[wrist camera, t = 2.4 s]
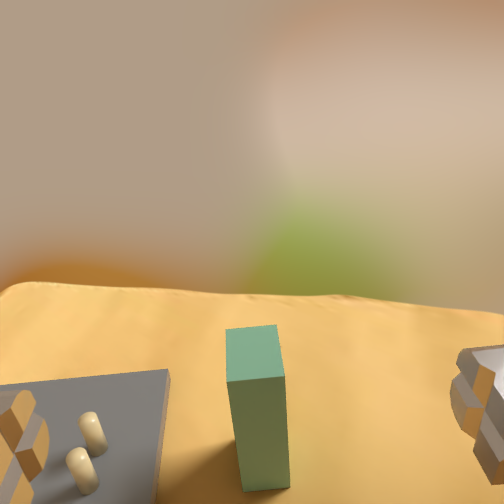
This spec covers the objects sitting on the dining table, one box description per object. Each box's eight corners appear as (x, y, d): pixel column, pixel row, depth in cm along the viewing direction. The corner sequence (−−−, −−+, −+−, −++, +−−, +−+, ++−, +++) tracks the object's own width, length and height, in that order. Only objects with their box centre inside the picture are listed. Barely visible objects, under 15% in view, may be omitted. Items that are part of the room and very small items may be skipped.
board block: (282, 432, 32) (276, 324, 26) (290, 487, 28) (284, 375, 23) (240, 436, 32) (225, 329, 26) (242, 492, 28) (226, 381, 23)
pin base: (170, 379, 37) (161, 341, 34) (141, 617, 23) (122, 579, 21) (-2, 396, 36) (-22, 358, 34) (-134, 646, 23) (-182, 610, 21)
